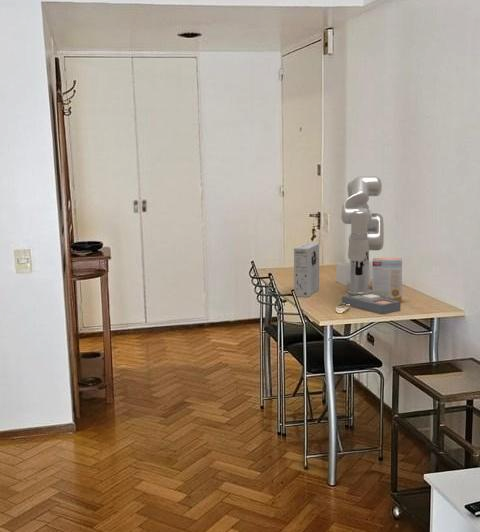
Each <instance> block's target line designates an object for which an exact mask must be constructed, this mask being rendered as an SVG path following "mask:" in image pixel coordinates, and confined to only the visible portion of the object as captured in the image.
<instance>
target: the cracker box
mask: <svg viewBox="0 0 480 532" xmlns="http://www.w3.org/2000/svg"><path fill="white" fill-rule="evenodd" d="M372 260H373V272H372V279H371V280H372V281H371V282H372V286H371V287H372V289H371V290H372V293H371V294H373V295H377V296H380V297H381V298H385V299H390V300H394V301H399V302H401V303H402V300H403V299H402V298H403V297H402V295H403V293H402V292H403V291H402V290H403V284H402V283H403V258H397V257H396V258H395V257H393V258H392V257H388V258H387V257H380V258H379V257H373V258H372Z"/></svg>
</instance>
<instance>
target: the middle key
mask: <svg viewBox="0 0 480 532" xmlns="http://www.w3.org/2000/svg"><path fill="white" fill-rule="evenodd" d="M362 299H364V300H368V301H374V300H379V299H380V296H377V295H373V294H372V293H370V294H367V295H363V296H362Z"/></svg>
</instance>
